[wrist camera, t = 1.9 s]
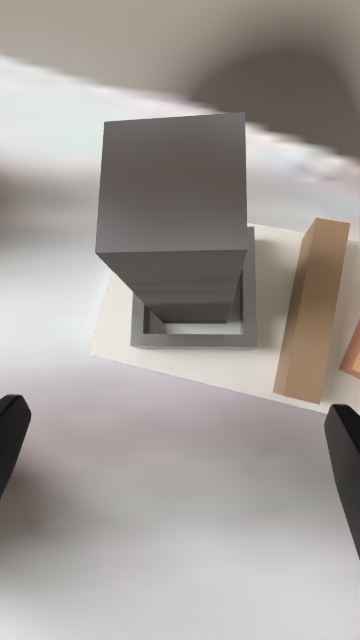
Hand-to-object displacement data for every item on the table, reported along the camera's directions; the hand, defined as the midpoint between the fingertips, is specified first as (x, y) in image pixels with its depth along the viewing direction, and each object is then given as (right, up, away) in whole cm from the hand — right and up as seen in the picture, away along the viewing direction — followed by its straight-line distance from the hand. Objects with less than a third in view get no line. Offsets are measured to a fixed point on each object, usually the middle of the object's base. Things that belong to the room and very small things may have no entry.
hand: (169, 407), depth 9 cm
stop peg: (+1, +4, +13) cm, 14 cm away
